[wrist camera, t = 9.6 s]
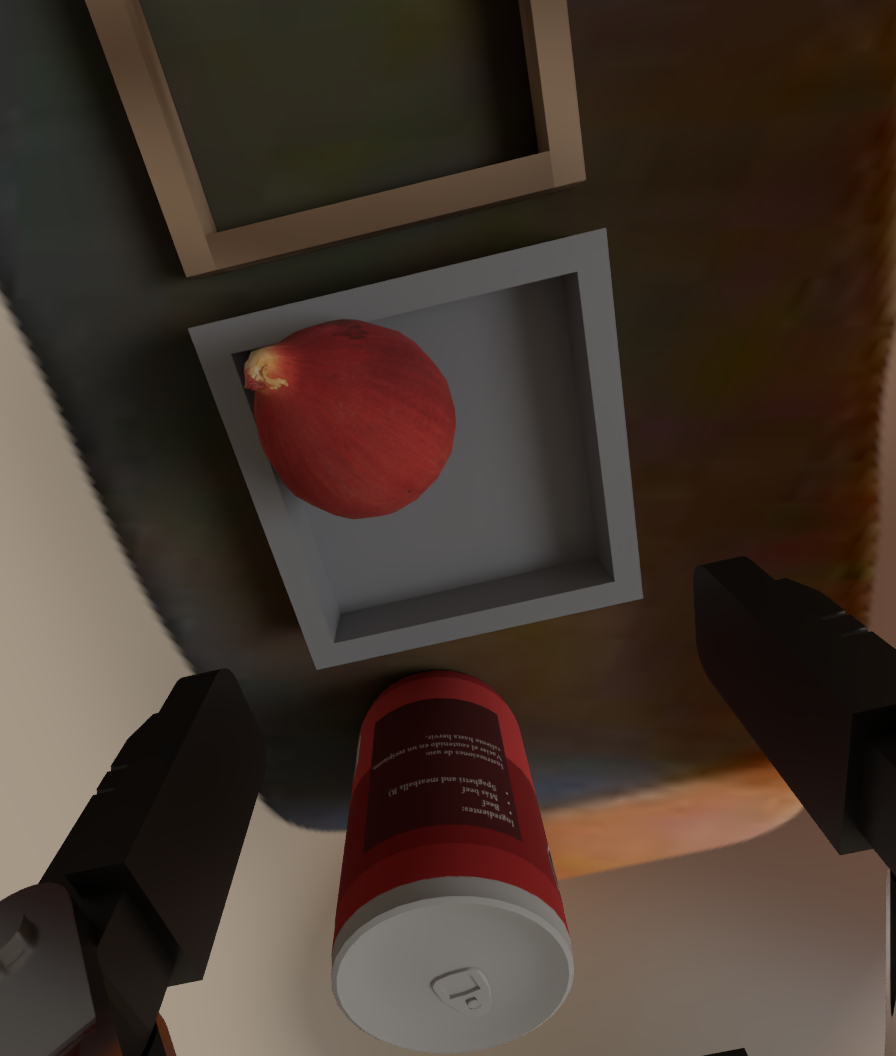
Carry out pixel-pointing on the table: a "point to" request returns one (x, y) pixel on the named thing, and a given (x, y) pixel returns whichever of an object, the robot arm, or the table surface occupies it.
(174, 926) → the robot arm
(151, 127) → the square frame
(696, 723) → the table surface
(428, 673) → the canned food
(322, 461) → the onion
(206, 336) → the bin
